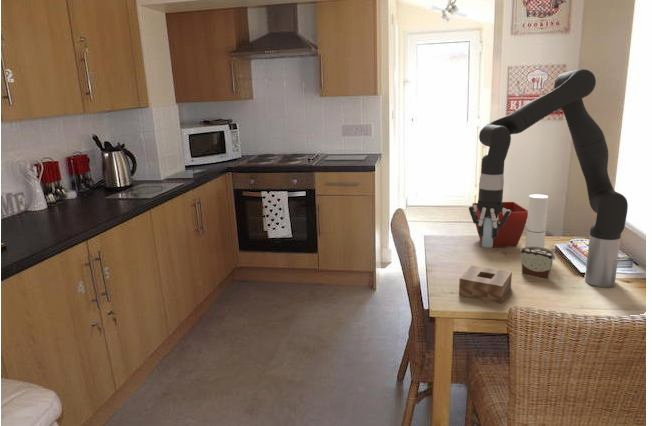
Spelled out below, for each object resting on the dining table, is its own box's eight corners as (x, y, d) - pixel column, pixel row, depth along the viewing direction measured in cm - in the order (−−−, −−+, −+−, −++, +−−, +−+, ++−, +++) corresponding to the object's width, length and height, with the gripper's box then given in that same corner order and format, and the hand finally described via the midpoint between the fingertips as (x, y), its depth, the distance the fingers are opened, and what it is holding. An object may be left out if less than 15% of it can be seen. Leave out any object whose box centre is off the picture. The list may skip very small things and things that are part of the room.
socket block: (510, 287, 166) (511, 271, 165) (501, 303, 155) (502, 286, 154) (470, 280, 174) (471, 265, 172) (458, 294, 163) (459, 278, 161)
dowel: (493, 245, 161) (495, 216, 158) (491, 248, 158) (493, 219, 156) (483, 243, 163) (485, 215, 160) (480, 246, 160) (482, 217, 157)
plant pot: (470, 237, 223) (471, 202, 219) (511, 236, 223) (513, 201, 219) (482, 250, 205) (483, 212, 201) (526, 249, 204) (529, 211, 200)
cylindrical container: (544, 253, 199) (549, 195, 192) (542, 258, 193) (546, 198, 186) (526, 250, 202) (530, 193, 196) (523, 256, 197) (527, 197, 190)
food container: (558, 276, 175) (560, 250, 173) (552, 281, 171) (554, 254, 168) (524, 268, 183) (526, 244, 181) (518, 273, 179) (519, 248, 177)
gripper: (516, 186, 155) (512, 237, 159) (472, 183, 162) (470, 231, 166) (511, 191, 149) (507, 243, 153) (466, 186, 156) (463, 236, 160)
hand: (487, 236), depth 160 cm, fingers closed on dowel, 3 cm apart
